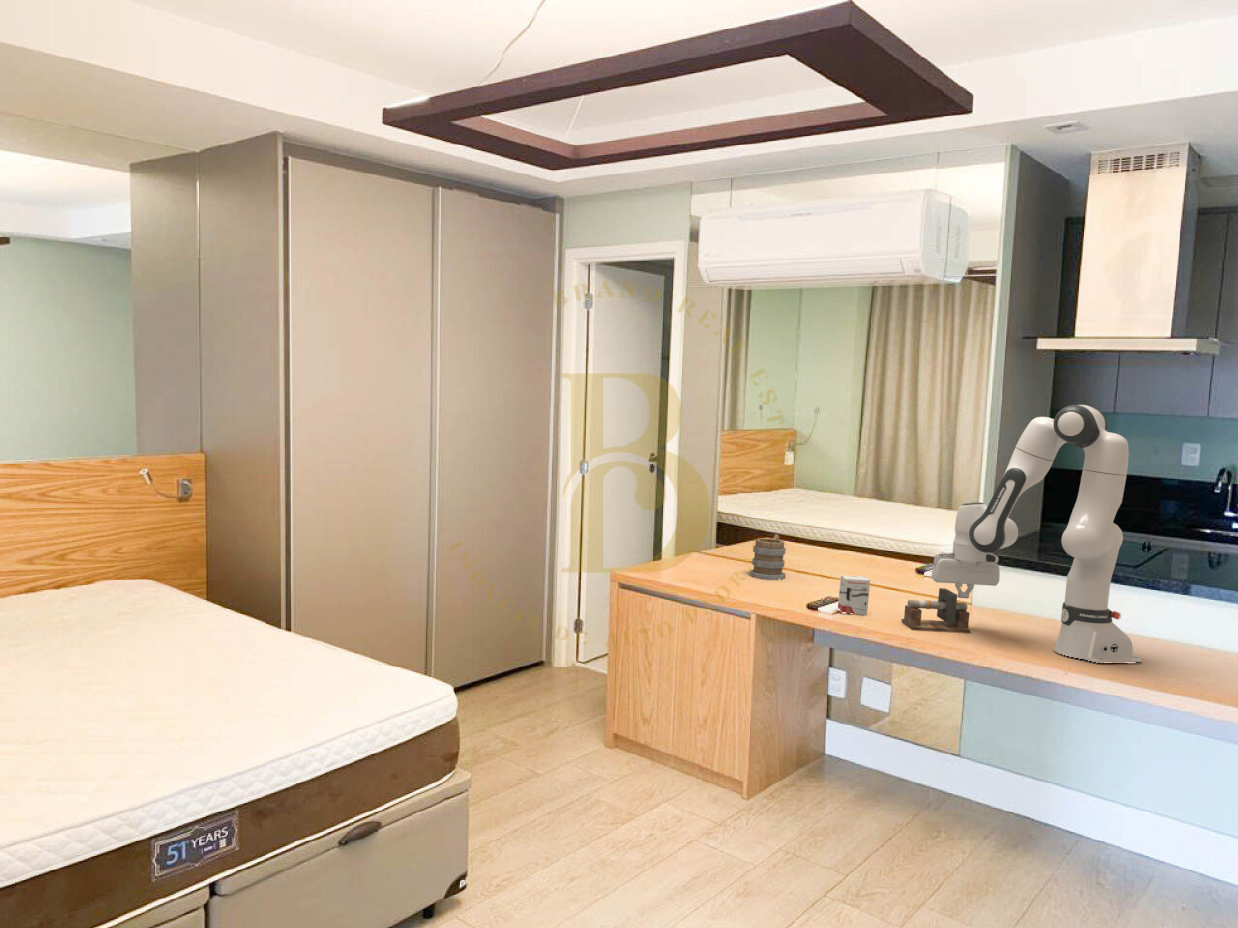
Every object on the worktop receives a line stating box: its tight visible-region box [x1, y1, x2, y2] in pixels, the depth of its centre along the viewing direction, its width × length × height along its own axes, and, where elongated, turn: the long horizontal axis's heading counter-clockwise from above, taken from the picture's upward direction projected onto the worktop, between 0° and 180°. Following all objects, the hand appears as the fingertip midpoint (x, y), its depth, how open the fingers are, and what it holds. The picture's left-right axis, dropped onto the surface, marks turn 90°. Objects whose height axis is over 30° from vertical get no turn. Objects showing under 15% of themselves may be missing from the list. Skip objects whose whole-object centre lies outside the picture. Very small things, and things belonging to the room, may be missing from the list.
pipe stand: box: [900, 599, 972, 634], centre depth 286 cm, size 18×10×8 cm, turn 93°
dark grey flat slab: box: [936, 587, 958, 624], centre depth 286 cm, size 2×9×9 cm, turn 3°
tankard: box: [748, 533, 786, 581], centre depth 354 cm, size 20×13×15 cm, turn 155°
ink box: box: [837, 574, 871, 616], centre depth 299 cm, size 8×5×12 cm, turn 92°
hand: (963, 597), depth 286 cm, fingers closed
